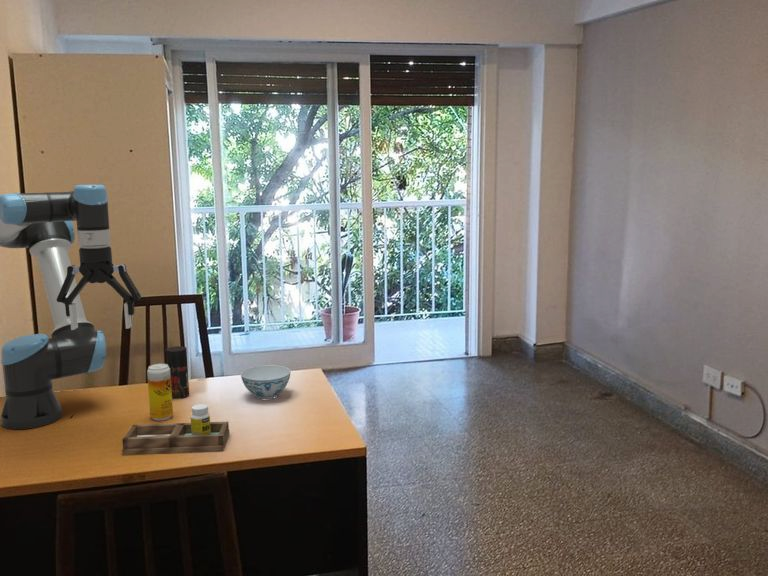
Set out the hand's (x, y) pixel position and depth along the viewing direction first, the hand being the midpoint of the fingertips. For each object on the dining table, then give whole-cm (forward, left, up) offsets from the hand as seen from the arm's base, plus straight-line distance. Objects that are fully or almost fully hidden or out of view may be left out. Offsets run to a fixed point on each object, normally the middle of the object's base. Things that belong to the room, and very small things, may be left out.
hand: (101, 328), depth 173 cm
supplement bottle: (+26, -9, -28) cm, 39 cm away
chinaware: (+39, +25, -29) cm, 55 cm away
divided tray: (+20, -9, -29) cm, 36 cm away
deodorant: (+12, +28, -29) cm, 42 cm away
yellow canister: (+11, +10, -29) cm, 32 cm away
